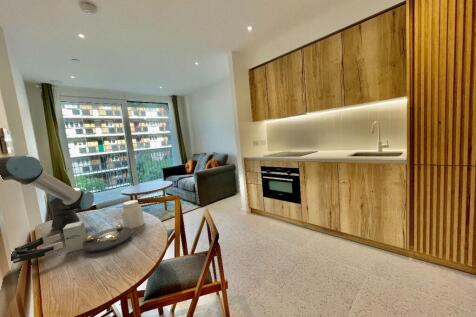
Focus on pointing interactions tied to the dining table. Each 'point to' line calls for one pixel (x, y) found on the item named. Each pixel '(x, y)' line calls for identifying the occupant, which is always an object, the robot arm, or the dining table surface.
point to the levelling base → (107, 239)
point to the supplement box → (74, 236)
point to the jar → (132, 214)
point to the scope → (66, 220)
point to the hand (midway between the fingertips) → (61, 239)
